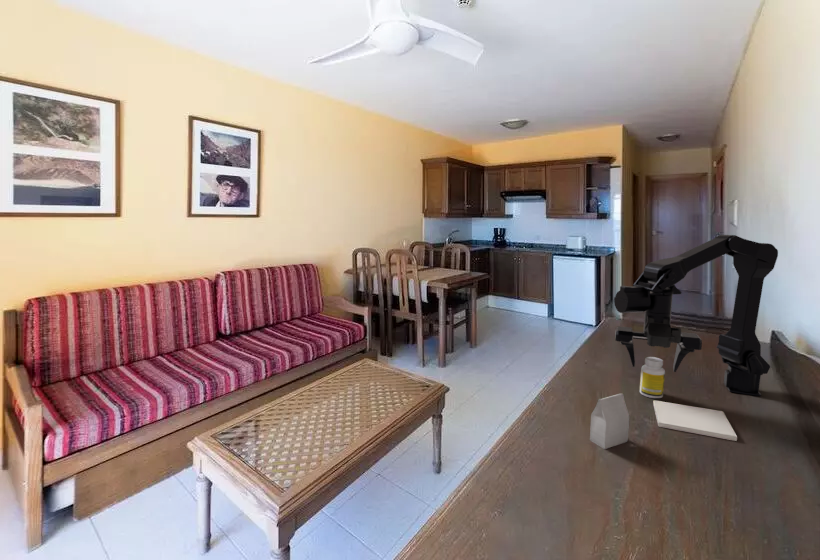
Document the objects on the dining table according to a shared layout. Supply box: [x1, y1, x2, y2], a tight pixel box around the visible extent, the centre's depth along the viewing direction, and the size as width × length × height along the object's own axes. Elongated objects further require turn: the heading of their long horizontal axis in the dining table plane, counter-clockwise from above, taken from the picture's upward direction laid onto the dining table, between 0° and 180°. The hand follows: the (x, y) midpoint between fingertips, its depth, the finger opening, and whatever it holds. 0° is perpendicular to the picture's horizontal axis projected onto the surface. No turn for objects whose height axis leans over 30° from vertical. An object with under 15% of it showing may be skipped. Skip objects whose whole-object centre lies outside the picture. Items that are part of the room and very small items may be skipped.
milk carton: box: [589, 392, 630, 450], centre depth 82 cm, size 4×7×10 cm, turn 114°
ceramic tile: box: [652, 400, 738, 442], centre depth 90 cm, size 14×12×1 cm
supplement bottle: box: [639, 356, 666, 399], centre depth 104 cm, size 5×5×10 cm
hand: (653, 368), depth 103 cm, fingers open, 9 cm apart
